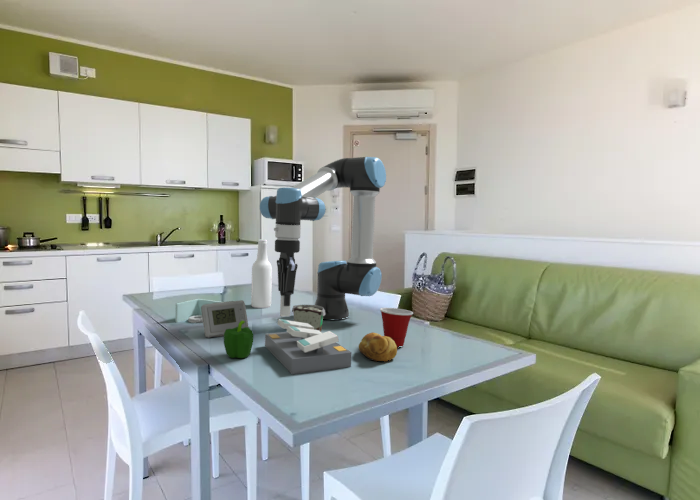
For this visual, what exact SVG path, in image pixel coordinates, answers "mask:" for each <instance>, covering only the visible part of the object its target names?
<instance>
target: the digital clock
mask: <svg viewBox="0 0 700 500" xmlns="http://www.w3.org/2000/svg"><path fill="white" fill-rule="evenodd" d="M201 312H202V319H203V322H202V324H203V331H204V336H205V338H217V337H224V333H225V331H226V329H233V328H235V327H238V324H239V323H240V322H241V321H245V323H244V324H242V327H241V328H245V327H249V322H248V321H249V320H248V315H247V308H246V303H245V301H244V300H241V299H240V300H231V301H220V303H212V304H205V305H202V307H201ZM249 328H250V327H249Z"/></svg>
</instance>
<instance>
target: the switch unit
mask: <svg viewBox="0 0 700 500" xmlns="http://www.w3.org/2000/svg"><path fill="white" fill-rule="evenodd" d="M315 330H316V329H315ZM264 335H265V336H264V347H265V348H266V349H267V350H268V351H269V352H270V353H271V354H272V355H273V356H274V357H275V358H276V359H277V360H278V362H280V363H281V365H282V366H283V367H284V368H286V370H287V371H288V372H289V373H290V374H291V375H298V374H304V373H305V374H306V373H314V372H321V371H329V370H336V369H343V368H351V367H352V351H350V350H348V349H347V348H345V347H344V346H342V345H341V344H340V343H338V342H336V343H333V344H330V345H327V346H324V347H321V348H317V349H314V350H311V351H308V352H304V351H302V350H301V349H300V348H299V347H298V346H297V341H299V340H302V339H305V338H303V337H295V336H292V335H291V334H289V333H288V332H287V331H283V332H282V331H281V332H269V333H268V332H267V333H264Z"/></svg>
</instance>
